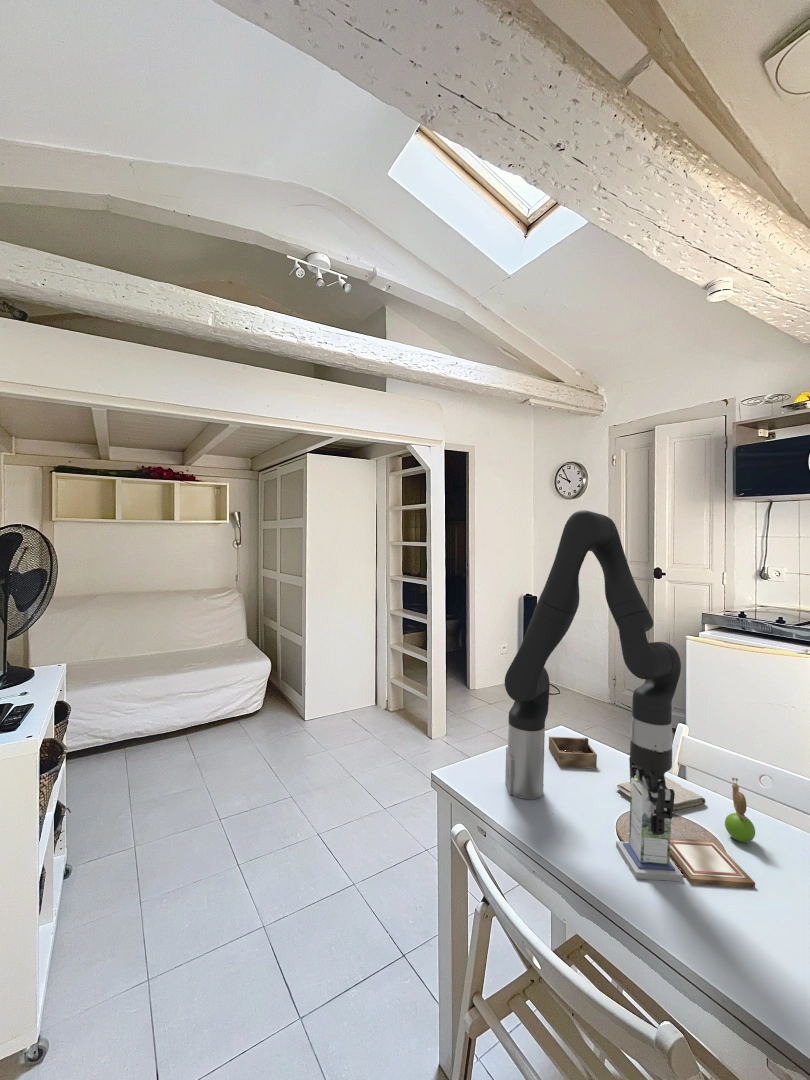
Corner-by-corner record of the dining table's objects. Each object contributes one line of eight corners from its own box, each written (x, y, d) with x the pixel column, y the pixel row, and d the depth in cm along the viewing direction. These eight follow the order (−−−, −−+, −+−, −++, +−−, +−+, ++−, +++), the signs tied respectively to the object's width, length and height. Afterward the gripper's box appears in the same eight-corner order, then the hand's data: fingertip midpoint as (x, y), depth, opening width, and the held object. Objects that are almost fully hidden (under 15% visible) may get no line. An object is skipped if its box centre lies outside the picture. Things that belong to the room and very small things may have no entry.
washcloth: (613, 793, 117) (613, 781, 117) (664, 782, 123) (665, 771, 123) (652, 820, 106) (652, 807, 106) (706, 807, 112) (706, 795, 112)
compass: (561, 752, 139) (562, 728, 139) (588, 759, 135) (589, 734, 135) (556, 763, 132) (557, 738, 132) (585, 770, 128) (585, 745, 128)
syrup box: (656, 846, 94) (658, 777, 94) (670, 866, 88) (672, 793, 88) (628, 844, 94) (630, 775, 94) (640, 864, 88) (642, 790, 88)
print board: (690, 883, 86) (690, 877, 86) (658, 841, 98) (658, 836, 98) (755, 887, 85) (755, 881, 85) (714, 845, 97) (714, 839, 97)
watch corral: (558, 766, 130) (558, 752, 130) (548, 749, 141) (549, 736, 141) (596, 768, 129) (596, 754, 129) (583, 750, 140) (583, 738, 140)
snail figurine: (747, 832, 102) (748, 779, 102) (759, 850, 96) (760, 794, 96) (719, 826, 104) (720, 775, 104) (729, 844, 98) (730, 789, 98)
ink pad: (635, 878, 87) (635, 870, 87) (616, 846, 96) (616, 839, 96) (683, 881, 86) (683, 873, 86) (659, 849, 95) (659, 841, 95)
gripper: (617, 725, 99) (615, 801, 99) (649, 756, 84) (647, 846, 84) (652, 726, 98) (650, 803, 98) (690, 758, 84) (688, 848, 84)
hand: (649, 822), depth 91 cm, fingers closed on syrup box, 6 cm apart
